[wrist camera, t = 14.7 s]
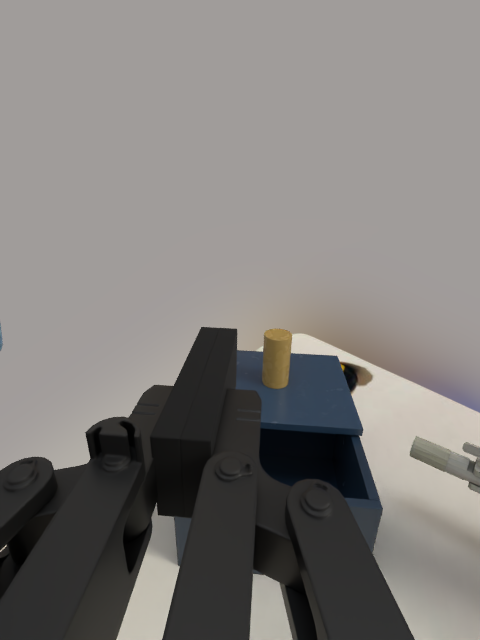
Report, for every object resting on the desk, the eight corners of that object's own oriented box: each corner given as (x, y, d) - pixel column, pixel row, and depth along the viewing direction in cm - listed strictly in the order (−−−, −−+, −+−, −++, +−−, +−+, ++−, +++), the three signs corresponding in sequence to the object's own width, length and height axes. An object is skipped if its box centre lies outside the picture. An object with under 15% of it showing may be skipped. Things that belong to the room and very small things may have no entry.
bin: (177, 565, 30) (171, 490, 27) (206, 449, 43) (205, 388, 40) (364, 585, 29) (383, 509, 25) (336, 459, 42) (346, 397, 38)
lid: (190, 423, 34) (187, 362, 31) (214, 354, 47) (213, 307, 44) (362, 436, 32) (374, 373, 30) (336, 361, 46) (343, 313, 43)
